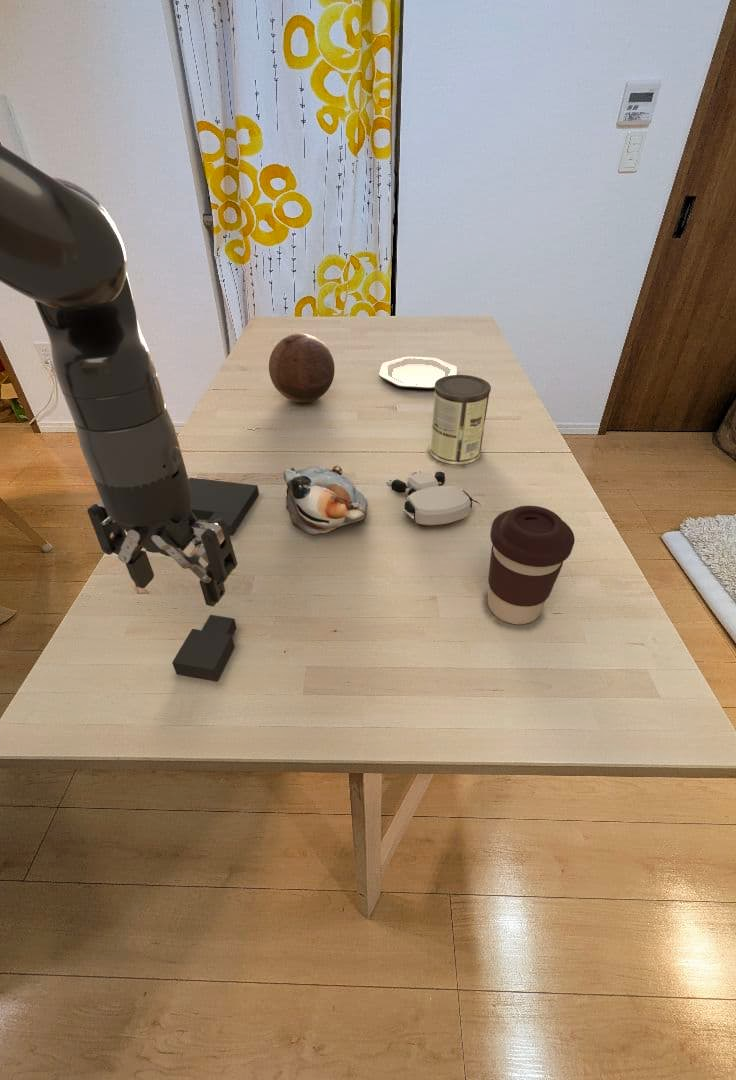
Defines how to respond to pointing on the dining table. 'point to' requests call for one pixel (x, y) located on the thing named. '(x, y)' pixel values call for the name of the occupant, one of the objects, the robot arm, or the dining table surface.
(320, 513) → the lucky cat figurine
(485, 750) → the dining table surface
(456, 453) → the coffee can
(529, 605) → the coffee cup
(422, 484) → the robot toy
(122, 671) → the dining table surface
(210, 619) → the black pad
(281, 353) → the wooden sphere
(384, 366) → the plate
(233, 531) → the base pad
